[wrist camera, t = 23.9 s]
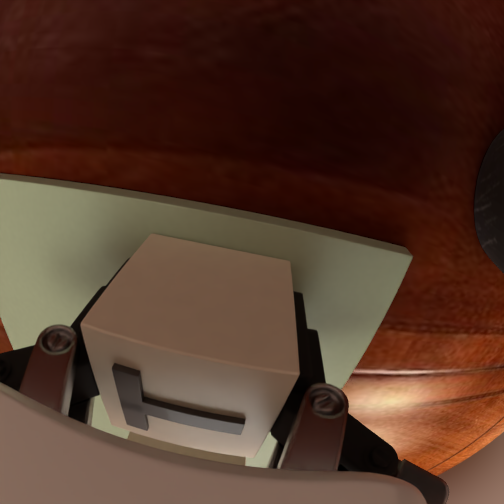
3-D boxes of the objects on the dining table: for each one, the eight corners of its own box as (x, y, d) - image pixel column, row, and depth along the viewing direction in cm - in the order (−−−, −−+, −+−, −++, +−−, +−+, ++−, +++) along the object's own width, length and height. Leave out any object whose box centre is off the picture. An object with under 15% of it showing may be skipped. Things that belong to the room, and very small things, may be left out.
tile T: (151, 232, 10) (75, 329, 6) (290, 260, 10) (301, 382, 6) (151, 333, 12) (109, 429, 8) (260, 357, 13) (254, 463, 8)
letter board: (-21, 170, 10) (-32, 175, 9) (405, 247, 11) (413, 256, 10) (52, 410, 20) (49, 416, 19) (274, 470, 21) (273, 477, 20)
